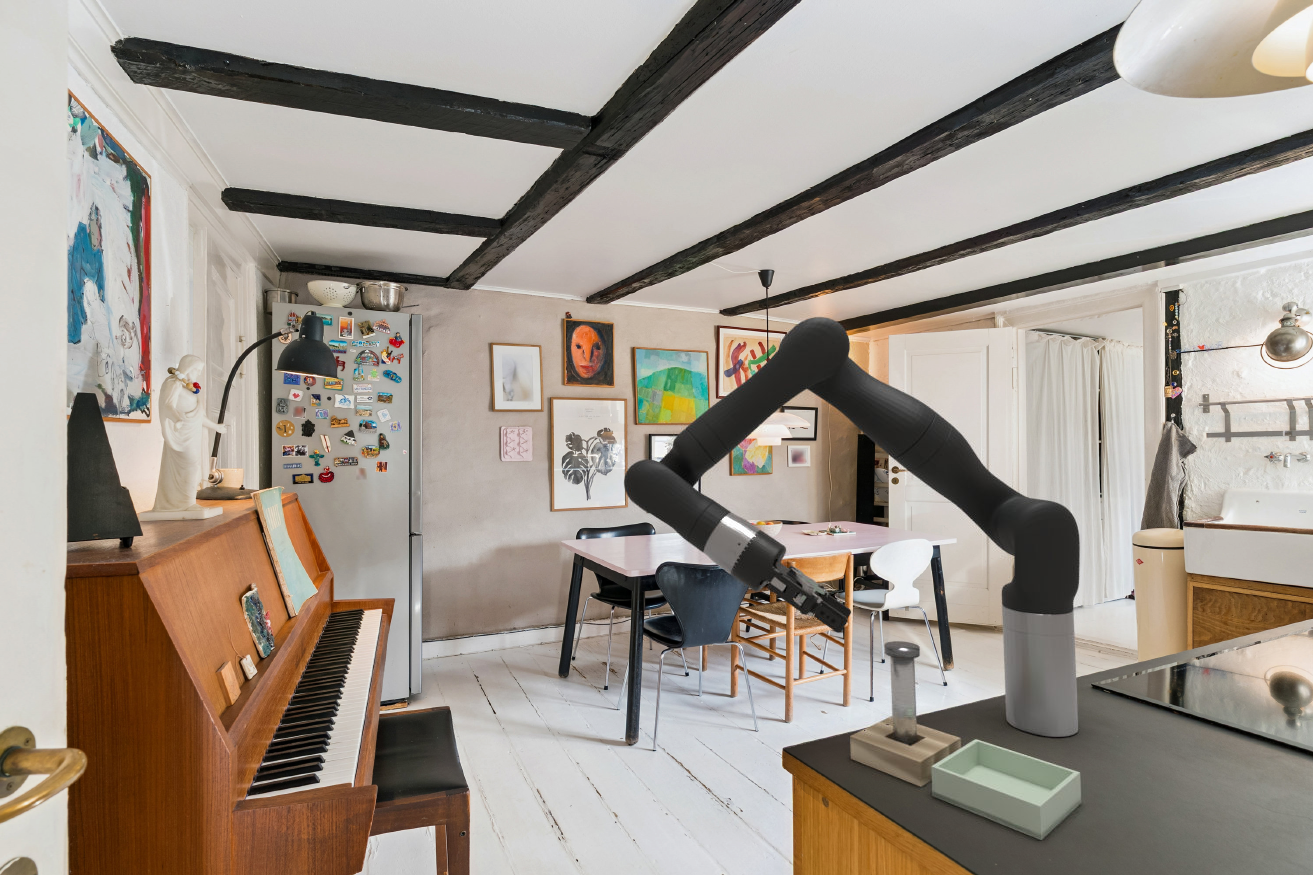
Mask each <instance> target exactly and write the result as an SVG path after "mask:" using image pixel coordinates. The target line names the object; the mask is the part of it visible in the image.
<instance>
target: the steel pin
mask: <svg viewBox="0 0 1313 875" xmlns="http://www.w3.org/2000/svg"><path fill="white" fill-rule="evenodd" d="M883 648H884V655H886V656H888V657H889V659H890V661H889V662H890V663H889V664H890V687H891V689H890V690H891V693H890V694H891V714H892V715H891V716H892V723H893V740H895V741H897V742H900V743H903V744H906V745H909V746H912V745H913V744H915V743H917V724H918V723H917V722H918V721H917V720H918V719H917V698H916V697H917V696H916V670H915V669H916V666H915V659H917V658H920V656H921V651H920V650H921V648H920V646H919V645H918V644H916V643H914V642H910V641H903V640H902V641H900V640H896V641H888V642H885V643H884V646H883Z"/></svg>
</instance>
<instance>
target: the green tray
mask: <svg viewBox="0 0 1313 875" xmlns="http://www.w3.org/2000/svg"><path fill="white" fill-rule="evenodd" d="M931 769H932V780H931V791H932V792H931V793H932V794H931V795H932V797H934V798H936V799H939V800H941V801H944V802H945V803H948V804H951V805H953V806H956V807H958V808H961V809H963V810H966V811H968V812H971V813H973V814H975V815H977V816H981V817H983V818H986V819H987V820H989V821H993V822H995V823H997V824H1000V825H1002V826H1004V827H1008V828H1010V829H1013V830H1015V831H1018V832H1020V833H1022V834H1025V835H1027V836H1030V837H1032V838H1035V839H1037V840H1039V841H1042V840H1043V839H1045V838H1046V837H1047V836H1048V835H1049V834H1050V833H1051V832H1052V831H1054V829H1055V828H1057V827H1058V826H1059V825H1060V824H1061V823H1062V822H1063V821H1064V820H1065V819H1066V818H1067V817H1068V816H1069V815H1070V814H1071V813H1073V811H1075V809H1077V808H1078V807H1079V806H1080V805H1081V804H1082V789H1081V788H1082V786H1081V785H1082V784H1081V783H1082V782H1081V772H1079V771H1077V770H1074V769H1070V768H1067V767H1064V766H1061V765H1058V764H1055V763H1051V762H1048V761H1045V760H1042V759H1039V758H1036V757H1033V756H1029V755H1026V754H1023V753H1021V752H1017V751H1014V750H1010V749H1008V748H1005V747H1001V746H998V745H995V744H992V743H990V742H987V741H982V740H979V739H976V738H975V739H974V740H972V741H970V742H968V743H967V744H964V746H961V748H960V749H959V750H957V751H956V752H954V753H952V754H951V755H949V756H947V757H946V758H944V759H943V760H941V761H939V762H938V763H936V764H934V765H933V766H931Z"/></svg>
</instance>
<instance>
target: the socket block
mask: <svg viewBox="0 0 1313 875" xmlns="http://www.w3.org/2000/svg"><path fill="white" fill-rule="evenodd" d="M886 724H889V725H886ZM864 730H865V731H864ZM849 736H850V737H849V739H850V740H849V741H850V742H849V743H850V759H851V760H853V761H855V762H858V763H861V764H862V765H866V766H868V767H870V768H872V769H876V770H878V771H880V772H883V773H886V774H888V775H891V776H893V777H896V778H898V779H901V780H903V781H905V782H908V783H911V784H913V785H915V786H917V787H920V788H921V787H923V786H924V785H926V784H928V783H930V782H932V769H931V766H933V765H934V764H936V763H938V762H939V761H941V760H943V759H944V758H946V757H947V756H949V755H951V754H952V753H954V752H956V751H957V750H959V749H960V748H962V742H961V741H962V738H961V737H958V736H956V735H952V734H949V733H946V732H943V731H940V730H937V729H934V728H931V727H927V726H925V725H921V724H918V723H917V743H915V744H913V745H912V746H909V745H906V744H903V743H900V742H897V741H895V740H893V723H892V715H891V716H888V717H887V718H885V719H882V720H881V721H878V722H876V723H874V724H872V725H870V726H868V727H866V728H864V729H861V730H860V731H858V732H856V733H854V734H852V735H849Z"/></svg>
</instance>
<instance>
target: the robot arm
mask: <svg viewBox="0 0 1313 875" xmlns="http://www.w3.org/2000/svg"><path fill="white" fill-rule="evenodd" d="M850 344H851V343H850V338H849V335H848V332H847V330H846V329H845V328H844V327H843V325H842V324H841V323H839V322H838V321H836V320H835V319H832V318H830V317H825V316H824V317H823V316H815V317H809V318H806V319H805V320H804V319H803V320H801V321H800V322H799V323H797V324H796V325H794V327H793V328H791V329H790V330H789V331H788V332H787V333H786V334H785V335H784V337H782V339H781V341H780V343H779V345H778V350H777V351H776V352H775V353H774V354H773V355H772V356H771V357H770V359H768V360H767V361H766V363H764V365H762V367H760V368H759V369H758V370H757V371H756V372H755V373H754V374H753V375H751V376H750V377H749V378H748V379H746V380H745V381H744V382H743V383H742V384H740V385H739V386H738V387H736V388H735V389H733V390H732V391H731V392H729V393H728V394H727V395H725V396H724V397H723V398H721V399H720V400H719V401H717V402H716V403H714V404H713V405H711V406H710V407H709V408H708V409H707V410H705V411H704V412H703V413H702V414H701V415H699V416H698V417H697V418H696V419H695V420H694V421H692V422H691V423H690V424H688V425H687V427H685V428H684V429H683V430H682V431H681V432H679V433H678V434H677V436H676V437H675V438H674V439H673V442H672V447H671V449H670V450H669V451H668V452H667V453H666V454H665V455H664V456H663V458H661V459H660V460H659V461H657V460H655V459H641V460H639V461H636V462H635V463H633V464H632V465H631V466H630V467H629V468H628V469H627V471H626V472H625V474H624V480H623V485H624V486H623V487H624V490H625V491H624V492H625V493H626V495H627V497H628V499H629V500H630V501H631V502H632V503H633V504H635V505H636V506H637V507H639V508H640V509H641V510H642V511H644V512H646V513H648V514H650V515H652V516H653V517H655V518H656V519H657V520H659V521H661V522H663V523H664V524H666V525H667V526H669V527H671V529H673V530H674V531H675V532H676V533H677V534H678V535H679V536H680V537H681V538H682V539H684V540H685V541H686V542H688V543H689V544H690V545H692V546H693V547H694V548H696V549H698V551H700V552H701V553H703V554H704V555H706V557H708V558H709V559H710V560H711V561H712V562H713V563H714V564H715V565H717V566H719V567H720V569H722V570H724V571H725V572H727V573H728V574H729V575H731V576H732V577H733V578H734V579H736V580H738V581H739V582H741V583H742V584H743V585H745V586H746V587H747V588H749V589H751V590H752V591H754V592H756V593H757V592H760V591H761V590H762V589H763V588H764V587H765V586H766V585H767V586H766V588H767V589H768V591H770V592H772V593H774V594H775V595H776V596H777V597H779V598H781V599H782V600H784V601H785V602H786V603H788V605H790V606H791V607H793V608H794V609H796V610H797V611H799V613H800V614H801V615H804V616H809V617H814V618H815V619H817V621H820V623H822V624H824V625H826V626H827V627H828V628H830V630H833V631H834V632H835V633H836V634H837V633H838V634H839V633H841V632H842V631H843V630H844V628H845V627H846V625H847V623H848V622H849V621H848V620H849V617H850V616H851V614H852V609H850V608H849V607H847V606H846V605H845V604H844V603H842V602H841V601H839V600H837V599H836V598H834V597H833V596H831V595H830V594H829V592H828V590H827V589H826V588H825V586H824V585H823V584H821V585H820V584H819V583H818V582H816V580H814V578H812V577H810V576H808V575H806V574H804V572H802V570H800V569H799V568H798V567H795V566H794V565H793V566H792V565H789V567H787V566H786V565H783V563H782V560H783V558H784V557H785V556H786V553H787V548H786V546H785V545H784V544H782V543H781V542H779V541H778V540H776V539H775V538H774V537H772V536H770V535H769V534H768V533H766V532H764V531H763V530H761V529H760V528H759V527H757V526H755V525H754V524H753V523H751V521H749V520H747V519H744V518H743V517H741V516H738V515H737V514H736V513H734V512H732V511H730V510H729V509H727V508H726V507H724V506H723V505H721V504H720V503H718V502H717V501H716V500H714V499H712V498H711V497H709V496H707V495H706V494H703V493H702V492H700V491H699V490H697V489H696V488H695V487H694V486H695V485H696V484H697V483H698V482H699V480H701V478H703V476H704V475H705V474H706V473H707V472H708V471H709V470H710V469H712V468H714V467H715V465H717V464H718V463H720V461H722V459H725V457H726V456H728V455H729V454H730V453H731V452H732V451H733V450H735V449H736V448H737V447H738V446H739V445H740V444H741V443H742V442H743V441H745V440H746V439H747V438H748V437H749V436H750V435H751V434H752V433H754V431H755V430H757V429H758V428H759V427H760V426H761V425H762V424H763V423H764V422H765V421H767V420H769V418H770V417H771V416H772V415H773V414H775V413H776V412H777V411H778V410H779V409H781V408H782V407H783V406H784V405H786V404H787V403H789V402H790V401H791V400H793V398H795V397H797V396H798V395H800V394H802V393H803V392H804V391H806V390H807V391H809V392H811V393H813V394H814V395H815V396H817V397H818V398H820V399H822V400H823V401H824V402H826V403H828V404H829V405H830V406H832V407H833V408H835V409H836V410H837V411H838V412H839V413H841V414H843V415H844V417H846V418H847V419H848V420H849V421H850V422H851V423H852V424H853V425H854V426H856V428H858V429H859V430H860V431H861V432H862V433H863V434H864V435H866V436H867V437H868V438H869V439H870V440H871V441H872V442H874V444H876V445H877V446H878V447H879V448H880V449H882V450H883V451H884V452H885V453H886V454H887V455H888V456H890V457H891V458H892V459H893V460H894V461H896V462H897V463H898V464H899V465H901V466H902V467H903V468H904V469H905V470H907V471H908V472H909V473H911V474H912V475H913V476H914V477H916V478H917V479H919V480H920V481H921V482H923V483H924V484H925V485H926V486H928V487H929V488H931V489H932V490H934V491H935V492H936V493H938V494H939V495H941V496H942V497H943V498H946V499H947V500H948V501H950V502H951V503H953V504H954V505H955V506H956V507H958V509H960V511H962V512H963V513H964V514H965V515H966V516H967V517H968V518H969V519H970V520H971V521H973V523H975V525H976V526H977V527H979V529H981V531H982V532H983V533H984V534H985V535H986V536H987V537H989V539H990V540H991V541H992V542H993V543H994V544H995V545H996V546H997V548H1000V549H1001V550H1002V551H1004V552H1005V553H1007V554H1008V555H1010V556H1013V564H1014V565H1013V578H1012V579H1011V581H1010V582H1008V583H1005V584H1004V585H1003V586H1002V589H1001V612H1002V614H1001V615H1002V616H1001V617H1002V634H1003V639H1002V640H1003V643H1002V644H1003V664H1004V666H1003V670H1004V690H1005V691H1004V692H1005V693H1004V694H1005V696H1004V697H1005V715H1006V716H1005V719H1006V721H1007V722H1008V724H1010V726H1013V727H1014V728H1016V729H1018V730H1020V731H1024V732H1026V733H1029V734H1033V735H1039V736H1043V737H1044V736H1045V737H1053V738H1054V737H1055V738H1056V737H1059V738H1060V737H1069V736H1073V735H1075V734H1076V733H1078V732H1079V718H1078V714H1079V713H1078V691H1077V690H1078V688H1077V686H1078V685H1077V666H1076V665H1077V663H1076V662H1077V660H1076V639H1075V637H1076V635H1075V613H1074V609H1075V608H1074V600H1075V598H1076V595H1077V593H1078V591H1079V586H1080V560H1081V558H1080V553H1081V552H1080V551H1081V542H1080V541H1081V540H1080V532H1079V531H1080V530H1079V526H1078V523H1077V521H1076V519H1075V517H1074V515H1073V513H1072V512H1071V510H1069V509H1068V508H1067V507H1066V506H1065V505H1063V504H1061V503H1058V502H1055V501H1052V500H1046V499H1040V498H1031V497H1028V496H1026V495H1024V494H1022V493H1020V492H1019V491H1017V490H1016V489H1014V488H1012V487H1011V486H1009V485H1008V484H1007V483H1005V482H1004V481H1003V480H1001V479H999V478H998V477H996V476H995V475H994V474H993V473H992V472H990V470H988V469H987V468H986V466H985V465H984V464H983V462H982V461H981V460H980V458H979V457H978V455H977V453H976V452H975V451H974V449H973V448H972V446H971V445H970V443H969V441H968V440H967V438H965V437H964V436H963V434H962V433H961V432H960V431H959V430H958V429H957V428H956V427H954V425H953V424H951V423H950V422H949V421H948V420H946V419H945V418H944V417H942V416H941V415H940V414H939V413H938V412H936V411H935V410H934V409H932V408H931V407H930V406H929V405H927V404H925V403H924V402H922V401H920V400H919V399H917V398H916V397H914V396H912V395H910V394H908V393H906V392H904V391H902V390H900V389H898V388H895V387H893V386H892V385H890V384H887V383H885V382H883V381H881V380H880V379H878V378H875V377H874V376H872V375H871V374H869V373H868V372H867V371H865V370H864V369H863V368H862V367H861V366H859V365H858V364H857V363H856V362H855V361H854V360H853V359H852V358H850V356H849V354H850V350H851V347H850V346H851V345H850ZM767 583H768V584H767Z"/></svg>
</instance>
